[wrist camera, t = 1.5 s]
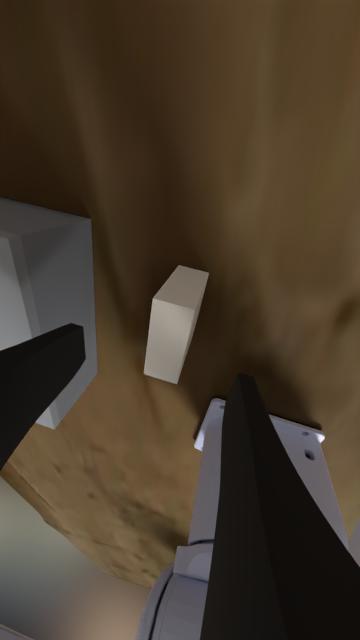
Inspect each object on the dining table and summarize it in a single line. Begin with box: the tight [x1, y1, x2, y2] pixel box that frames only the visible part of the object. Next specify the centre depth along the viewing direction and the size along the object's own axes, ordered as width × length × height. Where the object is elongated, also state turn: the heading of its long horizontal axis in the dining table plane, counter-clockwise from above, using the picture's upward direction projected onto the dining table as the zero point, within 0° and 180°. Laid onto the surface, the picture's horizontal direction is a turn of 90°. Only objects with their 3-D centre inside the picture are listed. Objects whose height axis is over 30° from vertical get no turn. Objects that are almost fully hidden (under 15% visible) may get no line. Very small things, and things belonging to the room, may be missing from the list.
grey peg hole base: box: [0, 197, 98, 429], centre depth 16 cm, size 10×14×6 cm
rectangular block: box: [144, 265, 209, 384], centre depth 14 cm, size 2×5×5 cm, turn 170°
